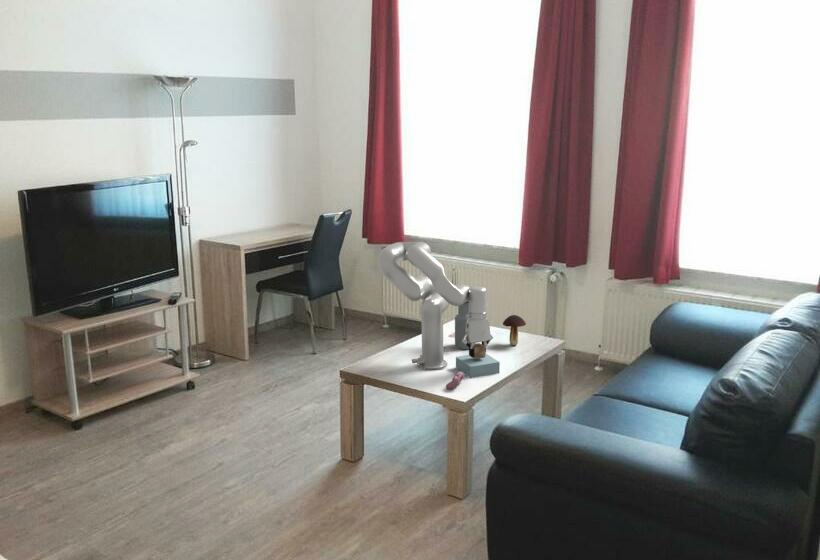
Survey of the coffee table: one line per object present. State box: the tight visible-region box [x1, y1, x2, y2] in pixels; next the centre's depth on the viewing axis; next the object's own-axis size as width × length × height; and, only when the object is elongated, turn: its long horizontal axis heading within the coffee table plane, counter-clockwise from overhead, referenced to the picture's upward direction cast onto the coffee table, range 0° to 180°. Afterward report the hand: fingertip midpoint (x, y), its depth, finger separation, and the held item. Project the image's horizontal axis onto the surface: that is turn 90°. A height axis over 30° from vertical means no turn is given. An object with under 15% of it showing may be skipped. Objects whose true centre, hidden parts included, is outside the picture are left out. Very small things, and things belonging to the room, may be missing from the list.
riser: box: [455, 352, 501, 379], centre depth 322 cm, size 14×14×5 cm
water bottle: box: [454, 301, 476, 350], centre depth 351 cm, size 10×10×28 cm
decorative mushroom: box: [502, 314, 527, 346], centre depth 353 cm, size 11×11×15 cm
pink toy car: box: [445, 371, 466, 390], centre depth 304 cm, size 10×5×7 cm, turn 159°
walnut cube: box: [473, 342, 485, 359], centre depth 320 cm, size 5×5×5 cm
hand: (477, 355), depth 321 cm, fingers closed on walnut cube, 4 cm apart
